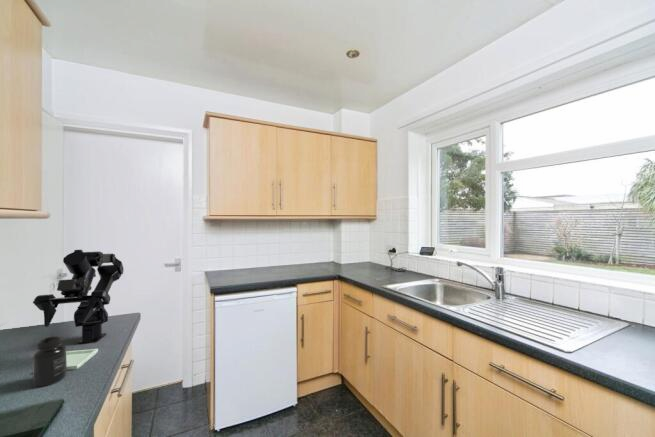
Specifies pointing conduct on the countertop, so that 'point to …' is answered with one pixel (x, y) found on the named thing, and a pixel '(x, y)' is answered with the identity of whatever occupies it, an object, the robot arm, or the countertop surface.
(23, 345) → the countertop surface
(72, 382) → the countertop surface
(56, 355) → the supplement bottle
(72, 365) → the sage tray
